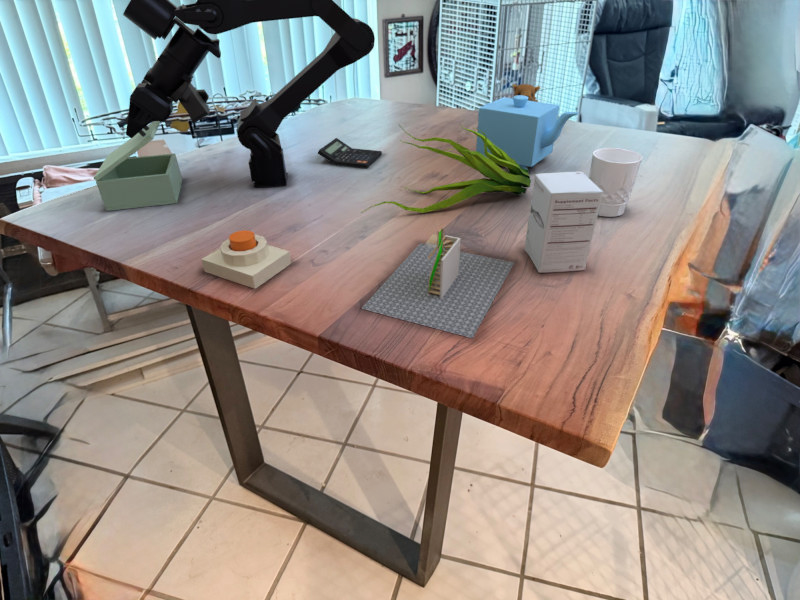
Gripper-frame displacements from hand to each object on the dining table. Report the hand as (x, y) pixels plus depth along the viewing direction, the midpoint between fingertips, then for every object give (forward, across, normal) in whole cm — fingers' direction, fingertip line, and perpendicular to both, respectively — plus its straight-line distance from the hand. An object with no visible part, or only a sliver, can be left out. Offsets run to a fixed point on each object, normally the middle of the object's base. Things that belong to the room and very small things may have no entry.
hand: (132, 129), depth 94 cm
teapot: (-45, -5, -64) cm, 78 cm away
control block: (-3, -35, -22) cm, 41 cm away
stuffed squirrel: (-50, +12, -69) cm, 86 cm away
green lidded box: (+10, 0, -8) cm, 13 cm away
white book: (-22, -47, -41) cm, 66 cm away
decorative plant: (-29, -22, -48) cm, 60 cm away
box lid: (+4, 0, -2) cm, 4 cm away
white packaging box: (-35, -45, -54) cm, 79 cm away
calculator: (-20, +9, -38) cm, 44 cm away
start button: (-6, -35, -19) cm, 40 cm away
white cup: (-48, -31, -66) cm, 87 cm away
